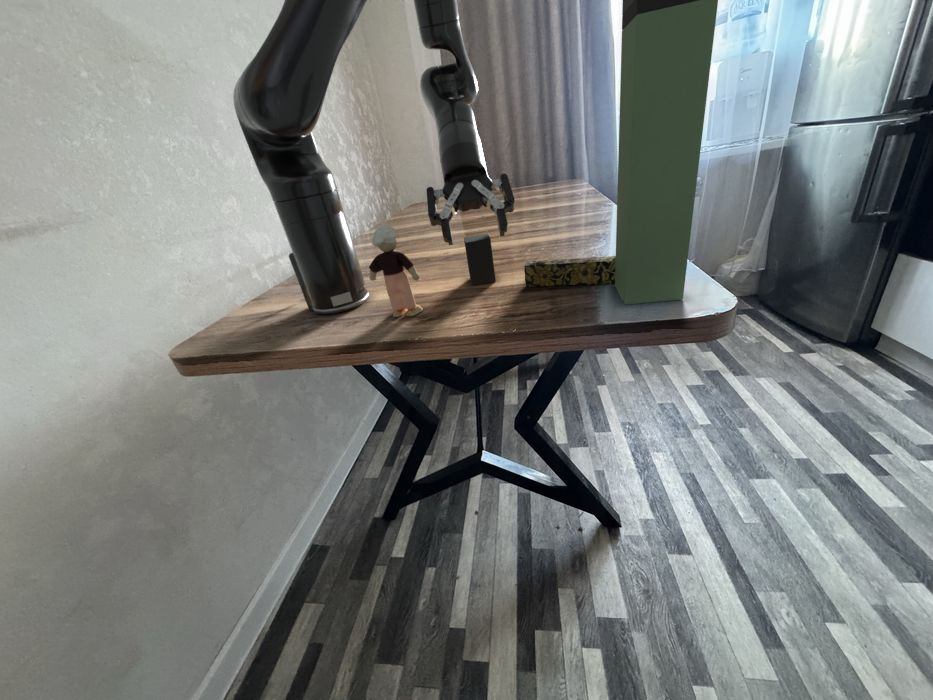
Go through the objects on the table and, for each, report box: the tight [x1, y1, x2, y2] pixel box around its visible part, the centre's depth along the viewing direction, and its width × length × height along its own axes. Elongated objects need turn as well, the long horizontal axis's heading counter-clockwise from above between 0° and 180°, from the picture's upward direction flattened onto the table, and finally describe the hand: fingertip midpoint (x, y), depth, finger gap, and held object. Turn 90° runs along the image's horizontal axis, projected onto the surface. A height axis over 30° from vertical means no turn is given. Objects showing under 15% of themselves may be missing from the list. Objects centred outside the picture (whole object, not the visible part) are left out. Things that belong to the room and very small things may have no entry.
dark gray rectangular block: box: [463, 233, 497, 287], centre depth 63 cm, size 4×4×7 cm
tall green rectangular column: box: [614, 0, 719, 305], centre depth 42 cm, size 7×7×32 cm
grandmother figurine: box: [368, 224, 424, 318], centre depth 54 cm, size 8×4×13 cm, turn 84°
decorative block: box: [523, 255, 616, 288], centre depth 55 cm, size 15×2×4 cm, turn 72°
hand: (476, 238), depth 62 cm, fingers open, 8 cm apart
